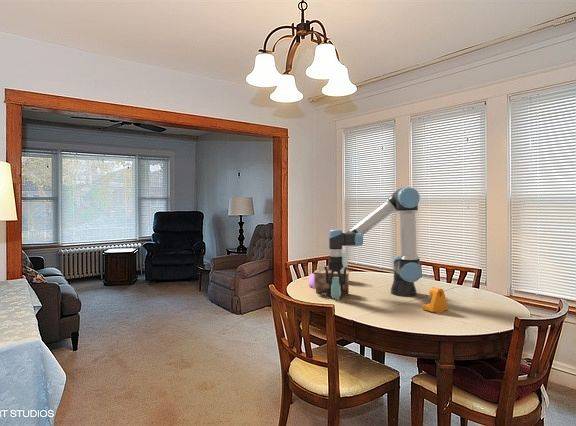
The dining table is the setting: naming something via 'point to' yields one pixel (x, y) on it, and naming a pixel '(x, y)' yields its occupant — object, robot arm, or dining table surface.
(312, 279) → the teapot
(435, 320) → the dining table surface
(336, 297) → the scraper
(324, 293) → the token
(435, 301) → the bracket
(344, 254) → the vase
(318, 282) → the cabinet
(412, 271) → the robot arm
